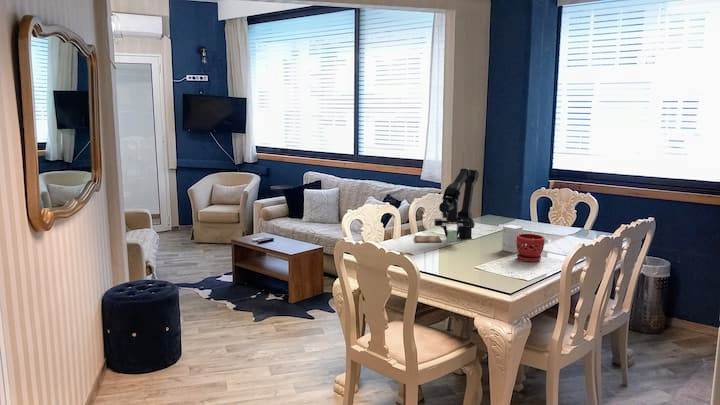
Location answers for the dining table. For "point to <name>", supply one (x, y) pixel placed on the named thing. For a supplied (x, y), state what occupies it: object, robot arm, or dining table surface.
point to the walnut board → (428, 239)
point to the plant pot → (530, 247)
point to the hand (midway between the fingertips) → (451, 237)
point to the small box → (510, 238)
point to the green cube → (451, 235)
